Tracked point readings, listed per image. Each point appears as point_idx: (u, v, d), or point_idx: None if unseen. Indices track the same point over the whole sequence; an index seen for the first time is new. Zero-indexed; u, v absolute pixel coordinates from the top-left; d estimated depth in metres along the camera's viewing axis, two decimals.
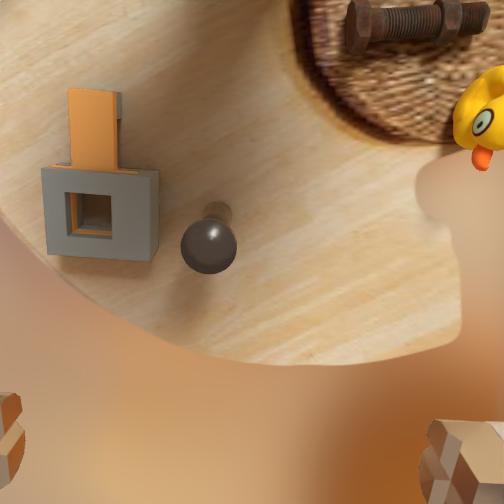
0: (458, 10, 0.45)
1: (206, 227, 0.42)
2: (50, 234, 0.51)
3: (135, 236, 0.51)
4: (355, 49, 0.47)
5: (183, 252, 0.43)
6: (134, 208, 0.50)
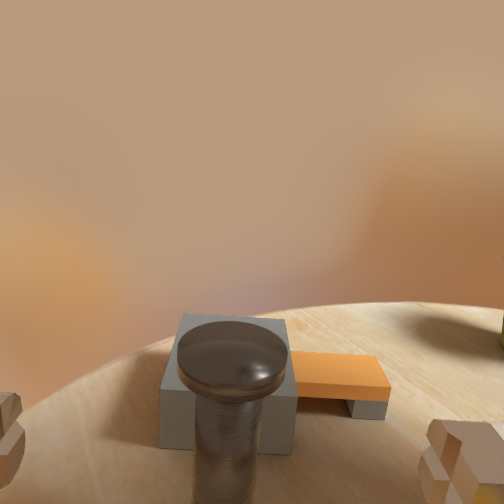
0: None
1: (274, 346, 0.22)
2: (208, 317, 0.43)
3: None
4: None
5: (222, 323, 0.24)
6: None
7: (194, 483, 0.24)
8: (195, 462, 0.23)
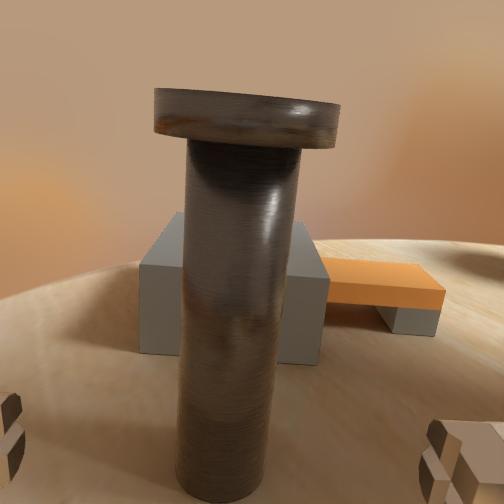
0: None
1: None
2: None
3: None
4: None
5: None
6: None
7: (182, 344, 0.15)
8: (183, 306, 0.14)
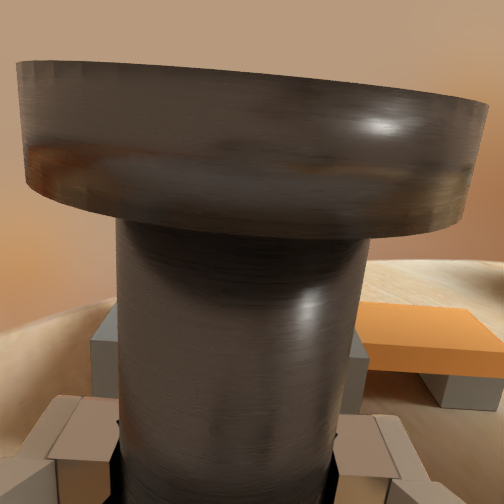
0: None
1: None
2: None
3: None
4: None
5: None
6: None
7: None
8: None
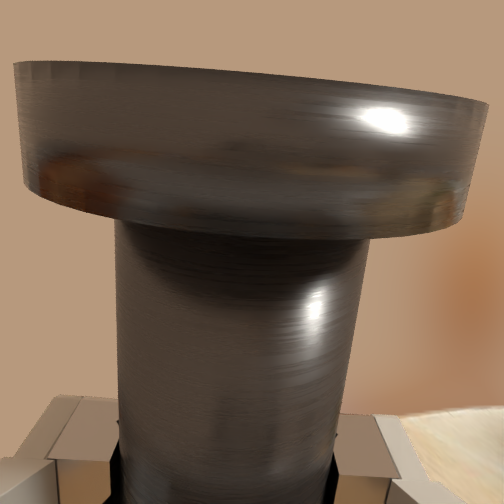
0: None
1: None
2: None
3: None
4: None
5: None
6: None
7: None
8: None
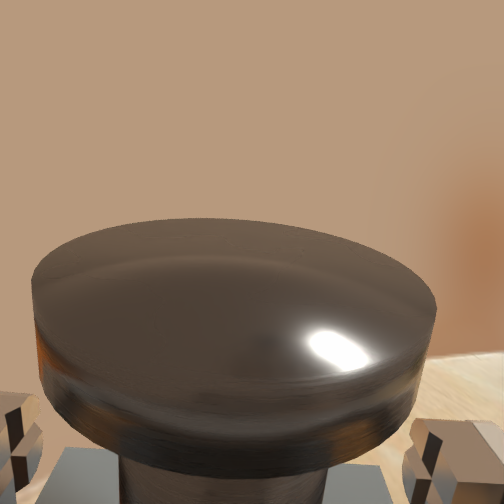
0: None
1: (372, 267, 0.07)
2: None
3: None
4: None
5: (209, 221, 0.09)
6: None
7: None
8: None
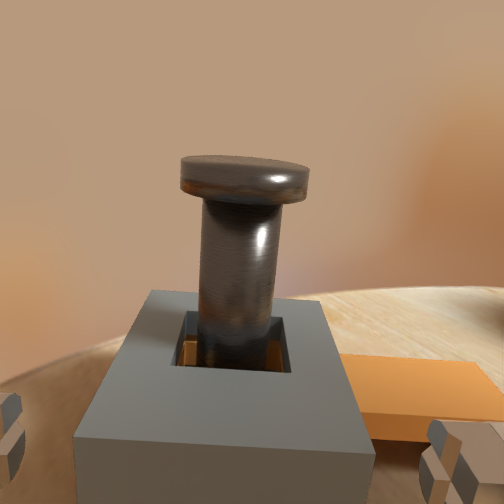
0: None
1: (293, 166, 0.19)
2: (192, 296, 0.26)
3: (173, 408, 0.16)
4: None
5: (232, 156, 0.21)
6: (264, 412, 0.16)
7: (199, 336, 0.20)
8: (200, 309, 0.20)
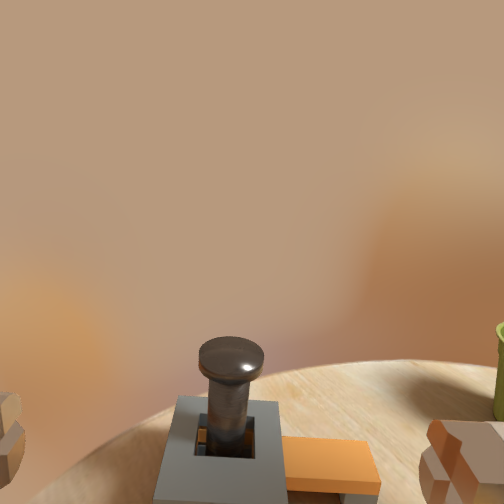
0: None
1: (256, 352, 0.37)
2: (202, 400, 0.44)
3: (196, 482, 0.34)
4: None
5: (225, 337, 0.39)
6: (239, 484, 0.34)
7: (207, 436, 0.38)
8: (208, 422, 0.38)
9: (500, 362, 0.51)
